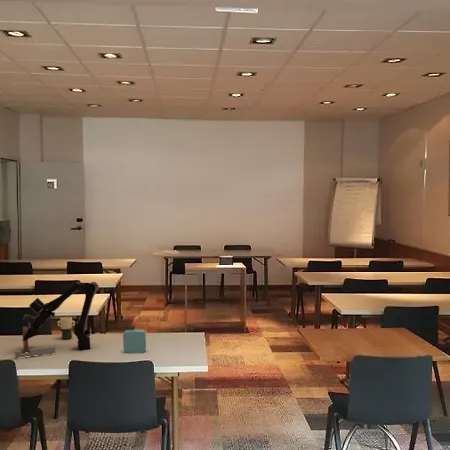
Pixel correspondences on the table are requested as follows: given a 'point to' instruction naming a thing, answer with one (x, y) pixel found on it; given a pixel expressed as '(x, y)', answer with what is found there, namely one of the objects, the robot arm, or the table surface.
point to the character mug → (66, 327)
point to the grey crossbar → (36, 352)
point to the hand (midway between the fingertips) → (22, 339)
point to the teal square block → (134, 341)
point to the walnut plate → (25, 343)
